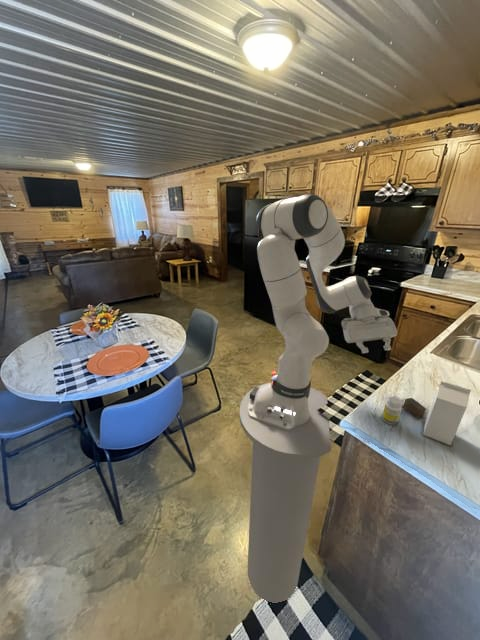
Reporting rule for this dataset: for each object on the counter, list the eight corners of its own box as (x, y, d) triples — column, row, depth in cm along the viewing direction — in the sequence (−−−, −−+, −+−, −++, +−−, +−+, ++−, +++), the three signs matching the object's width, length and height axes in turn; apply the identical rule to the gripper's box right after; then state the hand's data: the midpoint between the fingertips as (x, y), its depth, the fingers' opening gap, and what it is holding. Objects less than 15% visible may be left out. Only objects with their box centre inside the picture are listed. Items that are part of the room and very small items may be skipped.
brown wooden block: (423, 417, 92) (426, 408, 91) (416, 419, 92) (419, 410, 90) (409, 406, 98) (412, 397, 96) (402, 407, 97) (405, 398, 95)
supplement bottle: (386, 413, 94) (391, 393, 91) (399, 421, 91) (406, 401, 87) (379, 418, 92) (384, 398, 88) (392, 426, 88) (398, 406, 85)
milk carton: (450, 446, 81) (471, 396, 74) (423, 434, 85) (440, 386, 78) (450, 432, 86) (470, 384, 79) (424, 422, 90) (441, 375, 83)
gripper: (344, 315, 95) (356, 352, 90) (392, 311, 99) (406, 345, 94) (335, 322, 100) (347, 357, 95) (381, 317, 105) (394, 350, 100)
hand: (377, 351), depth 95 cm, fingers open, 8 cm apart
